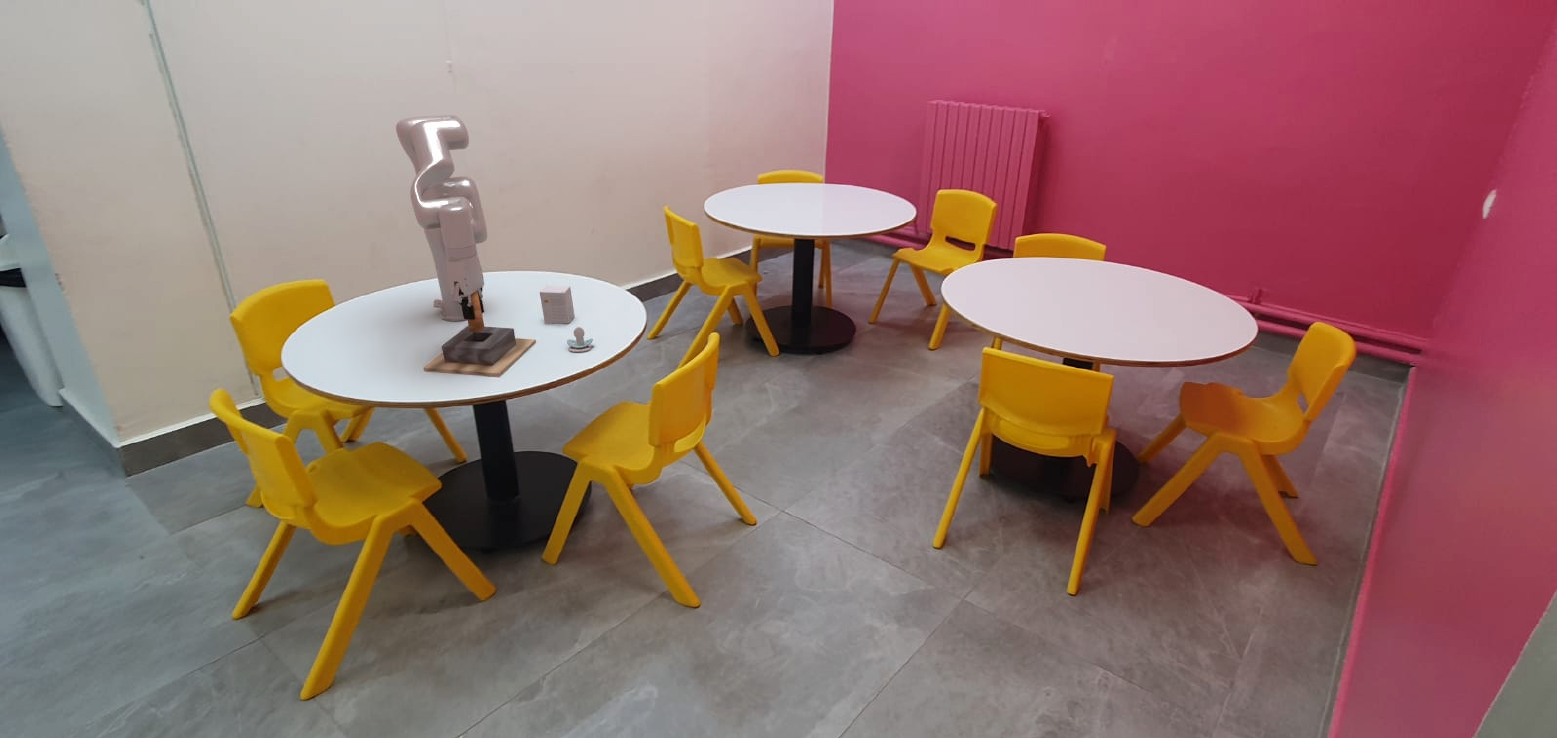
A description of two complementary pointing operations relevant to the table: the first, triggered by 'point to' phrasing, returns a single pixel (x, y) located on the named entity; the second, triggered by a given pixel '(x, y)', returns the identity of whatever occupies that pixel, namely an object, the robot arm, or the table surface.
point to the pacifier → (579, 341)
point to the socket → (480, 352)
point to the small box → (557, 304)
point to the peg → (477, 323)
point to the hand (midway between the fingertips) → (474, 315)
